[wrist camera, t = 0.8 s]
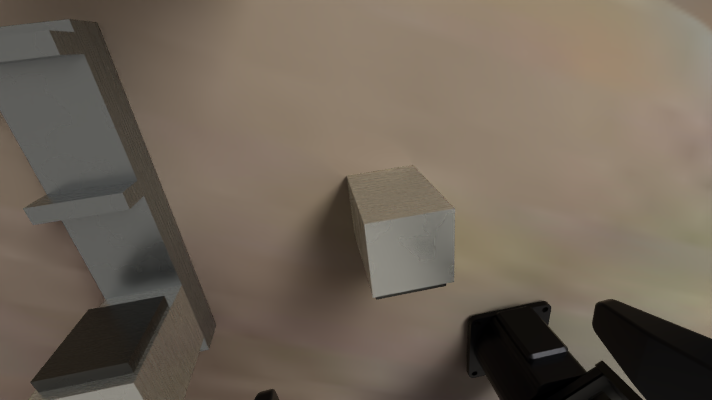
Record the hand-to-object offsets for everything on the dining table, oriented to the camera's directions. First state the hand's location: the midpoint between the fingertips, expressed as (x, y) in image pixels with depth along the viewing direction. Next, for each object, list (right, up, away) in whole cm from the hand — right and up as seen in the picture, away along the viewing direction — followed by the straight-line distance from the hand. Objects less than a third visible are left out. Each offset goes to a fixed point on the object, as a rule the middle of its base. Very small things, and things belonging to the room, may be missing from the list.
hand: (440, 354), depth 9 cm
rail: (-15, +4, +9) cm, 18 cm away
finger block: (-1, +4, +12) cm, 12 cm away
